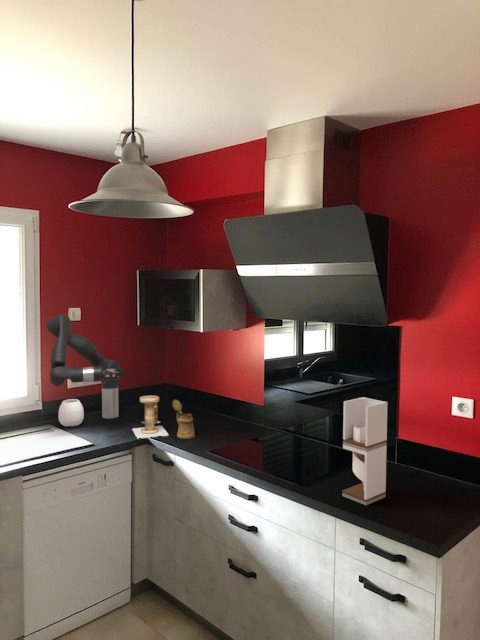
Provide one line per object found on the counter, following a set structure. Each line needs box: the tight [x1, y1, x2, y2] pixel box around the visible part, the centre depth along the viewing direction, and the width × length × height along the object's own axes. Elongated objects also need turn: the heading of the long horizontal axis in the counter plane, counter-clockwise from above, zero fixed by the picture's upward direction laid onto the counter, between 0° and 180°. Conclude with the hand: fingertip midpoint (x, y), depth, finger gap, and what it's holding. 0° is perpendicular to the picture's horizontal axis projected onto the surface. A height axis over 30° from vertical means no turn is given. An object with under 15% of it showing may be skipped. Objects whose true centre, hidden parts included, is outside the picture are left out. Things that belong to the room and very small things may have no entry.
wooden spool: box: [139, 394, 160, 434], centre depth 272 cm, size 10×10×18 cm
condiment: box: [141, 402, 160, 425], centre depth 292 cm, size 7×8×12 cm
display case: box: [341, 396, 388, 506], centre depth 190 cm, size 11×11×35 cm
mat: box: [131, 425, 170, 440], centre depth 272 cm, size 18×16×1 cm
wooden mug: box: [171, 398, 196, 440], centre depth 266 cm, size 9×14×18 cm, turn 49°
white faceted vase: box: [57, 398, 85, 427], centre depth 286 cm, size 13×13×14 cm
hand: (125, 372), depth 268 cm, fingers open, 8 cm apart
